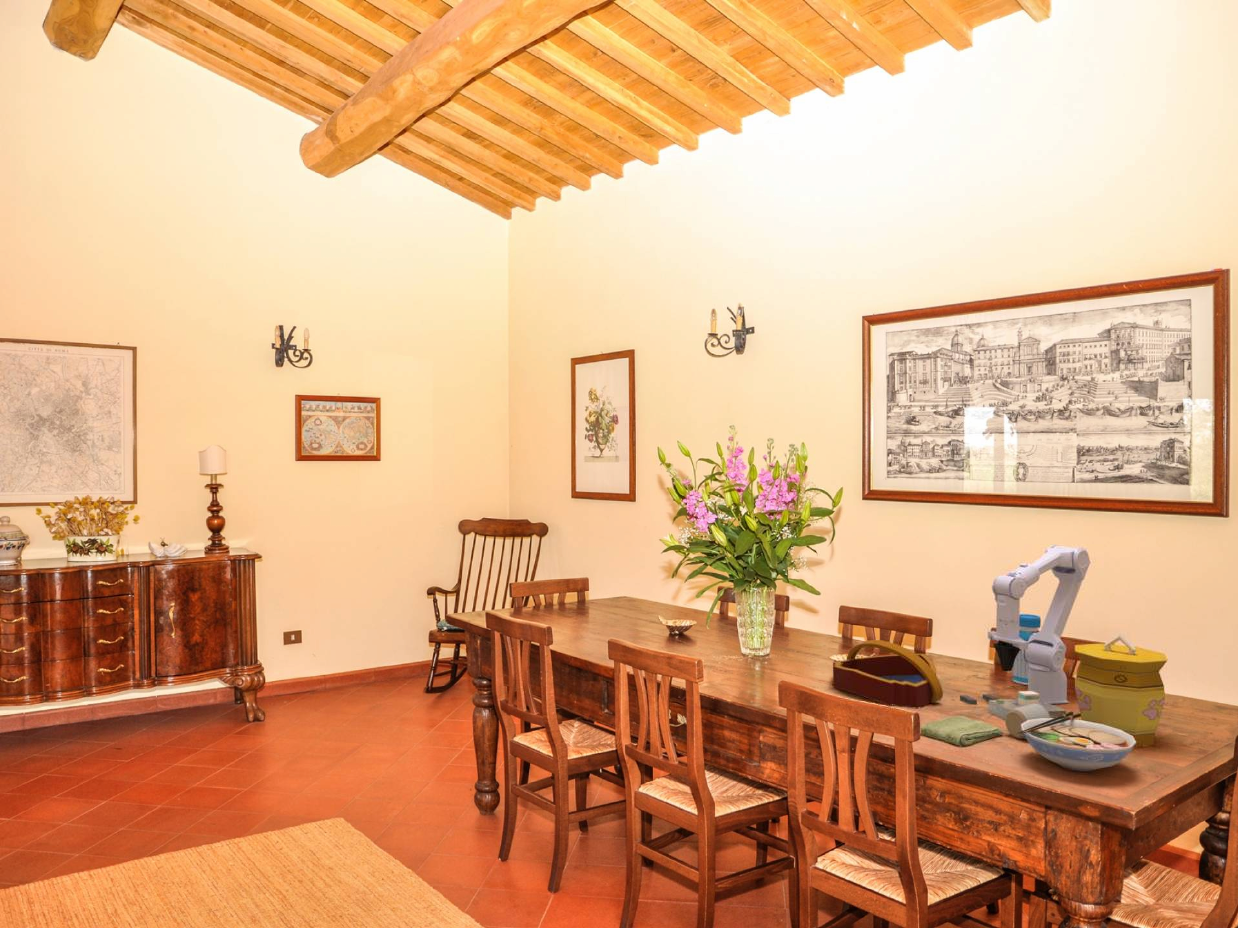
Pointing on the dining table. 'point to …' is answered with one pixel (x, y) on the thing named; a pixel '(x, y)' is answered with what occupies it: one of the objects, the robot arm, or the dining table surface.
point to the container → (1121, 687)
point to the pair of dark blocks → (973, 701)
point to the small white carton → (1027, 698)
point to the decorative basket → (889, 676)
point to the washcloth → (960, 730)
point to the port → (1006, 705)
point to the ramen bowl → (1077, 742)
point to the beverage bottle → (1026, 629)
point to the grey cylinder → (1023, 718)
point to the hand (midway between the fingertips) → (1006, 670)
